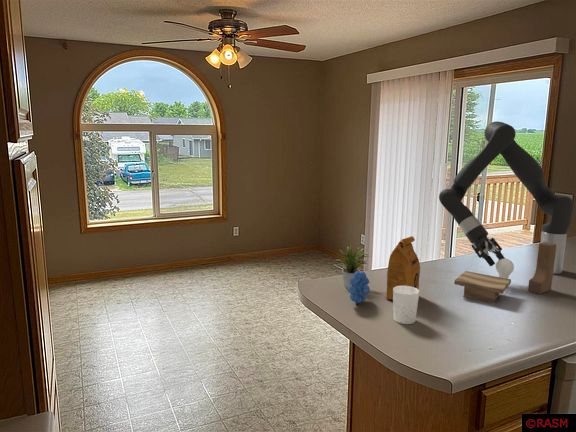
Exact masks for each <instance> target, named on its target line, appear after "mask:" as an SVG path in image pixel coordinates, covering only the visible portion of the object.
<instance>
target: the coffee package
mask: <svg viewBox="0 0 576 432" xmlns="http://www.w3.org/2000/svg"><path fill="white" fill-rule="evenodd" d="M415 241H416V239H415V238H414V236H412V235H411V236H409V237H406V238H401V240H400V241H399V242H398V244H397V245H396V246H395V248H394V249H393V250H392V251H391V254H390V255H389V259H388V265H387V272H386V299H387V300H392V301H393V288H394V287H396V286H411V287H414V288H417V289H418V290H419V291H420V288H419V287H420V274H421V265H420V259H419V257H418V255H417V253H416V252H415V250H414V246H413V242H415Z"/></svg>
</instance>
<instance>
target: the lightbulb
mask: <svg viewBox="0 0 576 432" xmlns="http://www.w3.org/2000/svg"><path fill="white" fill-rule="evenodd" d="M495 269H496V272H497V274H498V277H501V278H507V279H509V278H510V277H509V276H510V275H512V273H513V272H514V269H515V265H514V263H513V261H511V260H510V259H508V258H506V257H505V258H504V259H500V260H499V259H497V261H496V262H495Z"/></svg>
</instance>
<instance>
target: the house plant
mask: <svg viewBox="0 0 576 432" xmlns="http://www.w3.org/2000/svg"><path fill="white" fill-rule="evenodd" d="M360 247H361V245H359V246H358V247H357V248H356V250H355V251H354V253H353V250H352V245H351V244H350V245H347V247H346V248H347V249H346V253H344V251H343V250H341V249H338V250H339V251H340V254H341V255H342V257H343V259H344V260H345V261H344V260H342V259H340V258H338V259H336V261H338V262H340V263H342V270H341V272H342V280H343V284H344V287H345V289H348V287H349V286H351V285H352V284H351V283H350V278H351V277H354V273H355V272H356V271H359V272H361V269H359V268H358V267H362V268H363V269H364V264H365V265H366V264H367V265H368V263H367V262H366V260H363V258H367V257H370V255H369V254H368V253H370V251H368V252H363V250H364V249H365V248H364V247H363V248H360ZM359 249H360V250H359ZM362 252H363V253H362ZM361 259H362V260H361Z"/></svg>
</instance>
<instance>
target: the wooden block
mask: <svg viewBox="0 0 576 432" xmlns="http://www.w3.org/2000/svg"><path fill="white" fill-rule="evenodd" d="M556 246H557V245H556V244H553V243H548V242H543V243H541V242H540V243H539V244H538V252H537V257H536V259H537V260H536V265H535V266H536V267H535V268H536V269H535V273H534V274H533V277H532V278H530V279H529V280H528V287H527V291H528V292H529V293H534V294H537V295H541V294H544V293H546V292H548V291H549V292H550V291H551V290H552V286H553V285H552V284H553V278H554V274H553V270H554V262H555V254H556Z"/></svg>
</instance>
